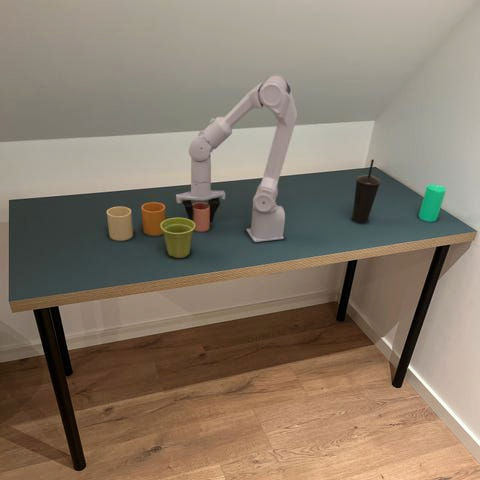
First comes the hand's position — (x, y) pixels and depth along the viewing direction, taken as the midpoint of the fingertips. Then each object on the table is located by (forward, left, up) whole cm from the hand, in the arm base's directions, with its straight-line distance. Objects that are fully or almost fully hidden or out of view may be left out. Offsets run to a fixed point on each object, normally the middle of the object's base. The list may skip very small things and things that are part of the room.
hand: (200, 222), depth 156 cm
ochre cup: (+14, -1, -2) cm, 14 cm away
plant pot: (+10, +14, -2) cm, 17 cm away
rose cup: (0, 0, -2) cm, 2 cm away
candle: (-76, +9, -2) cm, 77 cm away
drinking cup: (-52, +6, -2) cm, 52 cm away
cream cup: (+24, 0, -2) cm, 24 cm away
